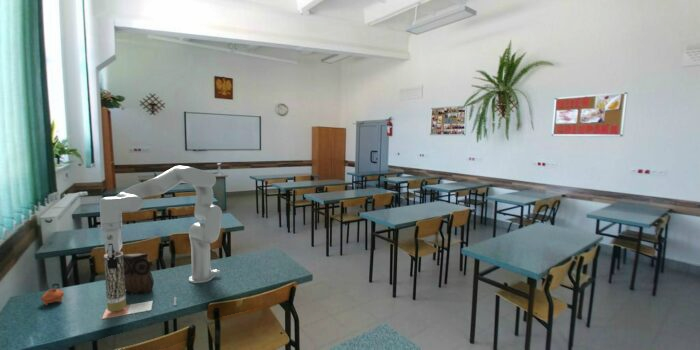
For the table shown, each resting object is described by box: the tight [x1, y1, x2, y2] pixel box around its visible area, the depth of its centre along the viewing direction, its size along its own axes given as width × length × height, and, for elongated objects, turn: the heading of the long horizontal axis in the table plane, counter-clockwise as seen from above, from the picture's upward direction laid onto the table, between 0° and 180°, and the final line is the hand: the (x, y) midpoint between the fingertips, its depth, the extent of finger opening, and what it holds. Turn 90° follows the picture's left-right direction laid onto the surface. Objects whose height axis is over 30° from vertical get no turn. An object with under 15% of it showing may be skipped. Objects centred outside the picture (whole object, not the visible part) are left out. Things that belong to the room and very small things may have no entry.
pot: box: [40, 288, 65, 306], centre depth 152 cm, size 8×8×7 cm
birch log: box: [103, 251, 127, 312], centre depth 144 cm, size 7×7×25 cm
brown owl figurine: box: [123, 253, 155, 296], centre depth 164 cm, size 13×13×20 cm
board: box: [101, 296, 177, 320], centre depth 150 cm, size 28×9×1 cm, turn 117°
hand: (114, 264), depth 144 cm, fingers closed on birch log, 6 cm apart
